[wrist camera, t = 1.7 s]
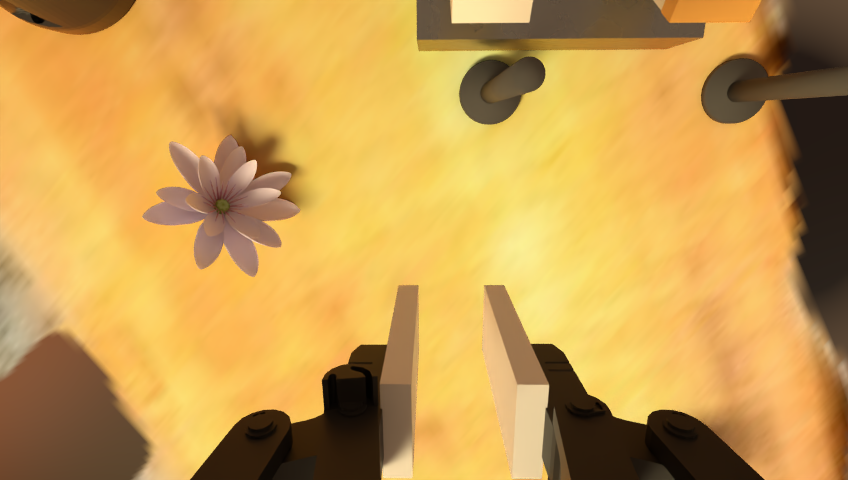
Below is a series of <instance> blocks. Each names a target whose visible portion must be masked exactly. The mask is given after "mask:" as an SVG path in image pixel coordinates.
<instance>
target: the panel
mask: <svg viewBox="0 0 848 480" xmlns="http://www.w3.org/2000/svg"><path fill="white" fill-rule="evenodd" d="M704 29H705V23H669V22H668V21H667V19H666V18H665V17H664V16H663V14H662V13H661V10H660V8H659V7H658V6H657V5H656V3H655V2H654V1H653V0H533V3H532V9H531V15H530V21H529V23H452V20H451V7H450V0H417V43H418V49H419V51H482V50H617V49H668V48H671V47H674V46H678V45H681V44H684V43H687V42H691V41H694V40H697V39H700V38H703V36H704Z"/></svg>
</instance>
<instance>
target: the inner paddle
mask: <svg viewBox="0 0 848 480" xmlns="http://www.w3.org/2000/svg"><path fill="white" fill-rule="evenodd" d="M532 3H533V0H450V7H451V20H452V23H529V21H530V15H531V9H532Z"/></svg>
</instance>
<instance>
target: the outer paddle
mask: <svg viewBox="0 0 848 480" xmlns="http://www.w3.org/2000/svg"><path fill="white" fill-rule="evenodd" d="M653 1H654V2H655V3H656V5H657V6H658V7H659V8H660V10H661V13H662V14H663V16H664V17H665V18H666V19H667V21H668V22H669V23H708V22H750V20H751V18H752V17H753V15H754V13H755V11H756V9H757V8H758V6H759V4H760V2H761V0H653Z"/></svg>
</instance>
